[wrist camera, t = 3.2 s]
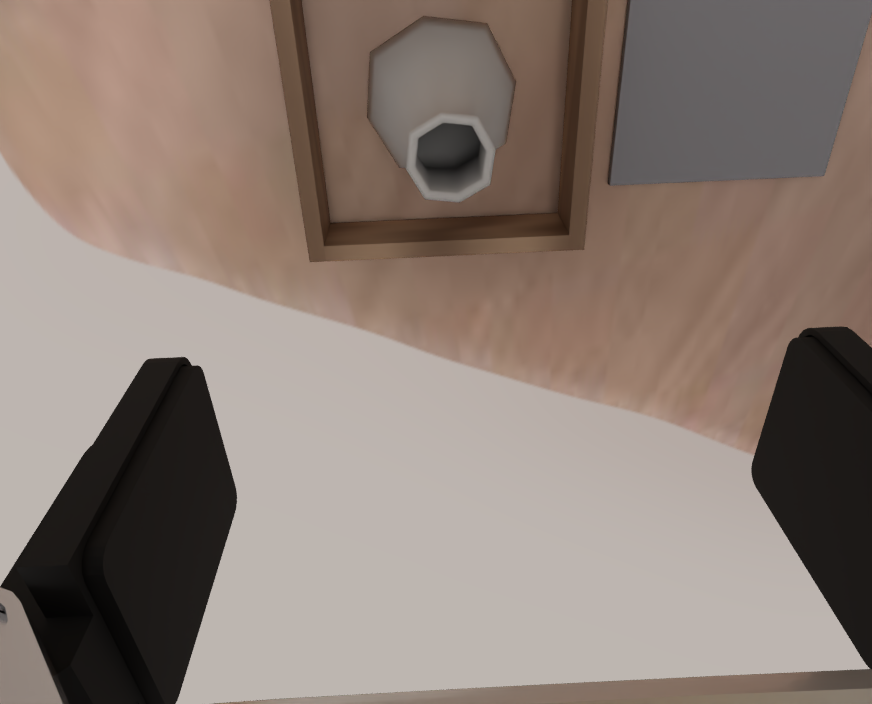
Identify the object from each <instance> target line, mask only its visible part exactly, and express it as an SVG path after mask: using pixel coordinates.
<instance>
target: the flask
mask: <svg viewBox="0 0 872 704" xmlns="http://www.w3.org/2000/svg"><path fill="white" fill-rule="evenodd" d="M515 85H516V81H515V79H514V77H513V75H512V73H511V71H510V69H509V67H508V65H507V63H506V61H505V59H504V57H503V55H502V53H501V51H500V49H499V46H498V44H497V42H496V40H495V38H494V36H493V34H492V32H491V30H490V28H489V26H488V24H487V23H478V22H469V21H461V20H452V19H443V18H435V17H426V16H423V17H422V18H420V19H419V20H417V21H416V22H414V23H413V24H411V25H410V26H408V27H407V28H405V29H404V30H402V31H401V32H399V33H398V34H397V35H395V36H394V37H392V38H391V39H389V40H388V41H386V42H385V43H383V44H382V45H380V46H379V47H377V48H376V49H374V50H373V51H371V52H370V65H369V86H368V107H367V118H368V119H369V121H370V122H371V124H372V126H373V127H374V129H375V130H376V132H377V133H378V135H379V137H380V138H381V140H382V141H383V143H384V144H385V146H386V148H387V149H388V151H389V152H390V154H391V156H392V157H393V159H394V160H395V162H396V163H397V165H398V167H399V168H406V170H407V172H408V173H409V175H410V176H411V178H412V180H413V181H414V183H415V184H416V186H417V187H418V189H419V191H420V192H421V194H422V195H423V197H424V199H427V200H438V201H449V202H459V203H460V202H461V201H463V200H465V199H466V198H468V197H470V196H472V195H473V194H475V193H477V192H479V191H480V190H482V189H484V188H485V187H487V186H489V185H490V182H491V176H492V169H493V163H494V156H495V150H496V149H497V148H499V147H500V146H502V145H504V144H505V143H506V140H507V134H508V128H509V122H510V116H511V109H512V103H513V97H514V91H515Z"/></svg>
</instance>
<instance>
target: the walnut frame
mask: <svg viewBox="0 0 872 704" xmlns="http://www.w3.org/2000/svg"><path fill="white" fill-rule="evenodd" d="M607 3H608V0H572V12H571V27H570V41H569V56H568V70H567V85H566V99H565V114H564V128H563V143H562V157H561V172H560V186H559V201H558V213H547V214H525V215H503V216H480V217H458V218H436V219H414V220H392V221H370V222H348V223H330V216H329V208H328V201H327V193H326V185H325V178H324V170H323V162H322V155H321V147H320V139H319V132H318V124H317V116H316V109H315V101H314V93H313V86H312V78H311V70H310V63H309V55H308V47H307V40H306V32H305V25H304V17H303V9H302V2H301V0H270V6H271V13H272V19H273V26H274V32H275V39H276V45H277V52H278V58H279V65H280V71H281V78H282V84H283V91H284V97H285V104H286V110H287V117H288V123H289V130H290V136H291V143H292V149H293V156H294V162H295V169H296V175H297V182H298V188H299V195H300V201H301V208H302V214H303V221H304V227H305V234H306V240H307V247H308V253H309V260H310V262H322V261H344V260H366V259H388V258H410V257H432V256H454V255H476V254H498V253H520V252H542V251H564V250H584V245H585V234H586V224H587V213H588V202H589V192H590V181H591V171H592V160H593V150H594V139H595V129H596V118H597V108H598V97H599V87H600V76H601V66H602V55H603V45H604V34H605V24H606V13H607Z"/></svg>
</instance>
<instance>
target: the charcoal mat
mask: <svg viewBox="0 0 872 704" xmlns="http://www.w3.org/2000/svg"><path fill="white" fill-rule="evenodd" d="M871 14H872V0H628V5H627V14H626V23H625V32H624V41H623V50H622V60H621V69H620V78H619V87H618V96H617V105H616V114H615V123H614V132H613V141H612V150H611V160H610V169H609V178H608V184H609V185H610V186H612V185H634V184H656V183H679V182H701V181H723V180H745V179H768V178H790V177H812V176H824V175H825V172H826V168H827V165H828V161H829V158H830V155H831V151H832V148H833V144H834V141H835V137H836V134H837V131H838V127H839V124H840V120H841V117H842V113H843V110H844V107H845V103H846V100H847V96H848V93H849V90H850V86H851V83H852V79H853V76H854V72H855V69H856V66H857V62H858V59H859V55H860V52H861V48H862V45H863V42H864V38H865V35H866V31H867V28H868V25H869V21H870V18H871Z"/></svg>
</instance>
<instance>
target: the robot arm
mask: <svg viewBox="0 0 872 704" xmlns="http://www.w3.org/2000/svg"><path fill="white" fill-rule="evenodd" d="M752 478H753V481H754V484H755V486H756V488H757V490H758V491H759V493H760V494H761V496H762V498H763V499H764V501H765V502H766V504H767V506H768V507H769V509H770V510H771V512H772V514H773V515H774V517H775V519H776V520H777V522H778V523H779V525H780V527H781V528H782V530H783V531H784V533H785V535H786V536H787V538H788V540H789V541H790V543H791V544H792V546H793V548H794V549H795V551H796V552H797V554H798V556H799V557H800V559H801V560H802V562H803V564H804V565H805V567H806V569H807V570H808V572H809V573H810V575H811V577H812V578H813V580H814V581H815V583H816V584H817V586H818V588H819V590H820V591H821V593H822V594H823V596H824V598H825V599H826V601H827V602H828V604H829V606H830V607H831V609H832V610H833V612H834V614H835V615H836V617H837V619H838V620H839V622H840V623H841V625H842V626H843V628H844V630H845V631H846V633H847V635H848V636H849V638H850V639H851V641H852V643H853V644H854V646H855V648H856V649H857V651H858V652H859V654H860V656H861V657H862V659H863V660H864V662H865V663H866V665H867V666H868V667H869V668H870V669H865V670H842V671H821V672H820V671H819V672H798V673H797V672H796V673H775V674H752V675H729V676H706V677H688V678H687V677H686V678H666V679H647V680H646V679H645V680H625V681H604V682H584V683H567V684H566V683H565V684H546V685H526V686H506V687H486V688H468V689H450V690H449V689H448V690H431V691H414V692H413V691H412V692H395V693H377V694H359V695H340V696H322V697H305V698H286V699H270V700H257V701H244V702H229V703H215V704H872V348H871V347H870V346H869V345H868V344H867V343H866V342H865V341H863V340H862V339H861V338H860V337H859V336H858V335H857V334H856V333H855V332H853V331H852V330H851V329H849V328H848V327H822V328H808V329H805V330H803V332H802V333H801V334H800V335H799V337H798V338H794V339H792V340H791V341H790V343H789V345H788V347H787V351H786V354H785V357H784V360H783V364H782V367H781V370H780V374H779V377H778V380H777V383H776V387H775V390H774V393H773V396H772V400H771V403H770V406H769V410H768V413H767V416H766V419H765V423H764V426H763V429H762V432H761V436H760V439H759V442H758V446H757V449H756V452H755V455H754V459H753V462H752ZM236 504H237V493H236V488H235V484H234V480H233V476H232V473H231V469H230V466H229V462H228V458H227V455H226V451H225V448H224V444H223V440H222V437H221V433H220V430H219V426H218V423H217V419H216V415H215V412H214V408H213V405H212V401H211V398H210V394H209V391H208V387H207V384H206V380H205V376H204V373H203V370H202V369H201V367H200V366H191V363H190V362H189V360H188V359H187V358H185V357H177V358H154V359H148V360H146V361H145V362H144V364H143V365H142V367H141V368H140V370H139V371H138V373H137V375H136V376H135V378H134V379H133V381H132V383H131V384H130V386H129V388H128V389H127V391H126V392H125V394H124V396H123V397H122V399H121V400H120V402H119V404H118V405H117V407H116V408H115V410H114V412H113V413H112V415H111V416H110V418H109V420H108V421H107V423H106V424H105V426H104V428H103V429H102V431H101V432H100V434H99V436H98V437H97V439H96V441H95V442H94V444H93V445H92V446H90V448H89V449H88V450H87V451H86V452H85V453H84V455H83V456H82V458H81V460H80V461H79V463H78V464H77V466H76V467H75V469H74V471H73V472H72V474H71V475H70V477H69V478H68V480H67V482H66V483H65V485H64V486H63V488H62V489H61V491H60V493H59V494H58V496H57V497H56V499H55V501H54V502H53V504H52V505H51V507H50V509H49V510H48V512H47V513H46V515H45V516H44V518H43V520H42V521H41V523H40V525H39V526H38V528H37V529H36V531H35V532H34V534H33V535H32V537H31V539H30V540H29V542H28V543H27V545H26V547H25V548H24V550H23V552H22V553H21V555H20V556H19V558H18V559H17V561H16V562H15V564H14V566H13V567H12V569H11V571H10V572H9V574H8V575H7V577H6V578H5V580H4V581H3V583H2V585H1V586H0V704H175V703H176V701H177V699H178V697H179V694H180V690H181V687H182V683H183V681H184V677H185V674H186V670H187V667H188V664H189V661H190V658H191V654H192V651H193V648H194V644H195V641H196V638H197V635H198V632H199V628H200V625H201V622H202V618H203V615H204V612H205V609H206V605H207V602H208V599H209V595H210V592H211V589H212V586H213V582H214V579H215V576H216V573H217V569H218V566H219V563H220V560H221V556H222V553H223V549H224V547H225V543H226V540H227V537H228V534H229V530H230V527H231V524H232V520H233V517H234V513H235V510H236Z"/></svg>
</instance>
